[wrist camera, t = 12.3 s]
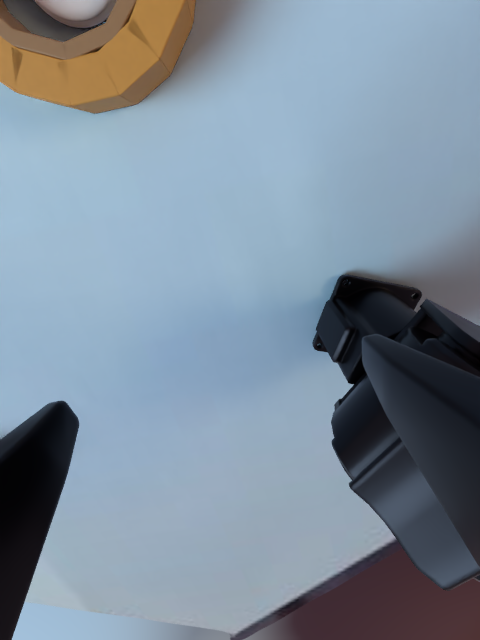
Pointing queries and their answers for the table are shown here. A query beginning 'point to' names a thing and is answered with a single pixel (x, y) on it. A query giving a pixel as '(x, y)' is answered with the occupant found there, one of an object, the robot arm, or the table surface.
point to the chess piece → (78, 11)
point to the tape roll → (98, 56)
